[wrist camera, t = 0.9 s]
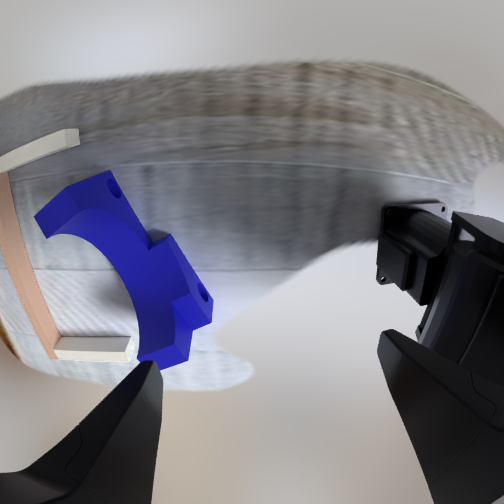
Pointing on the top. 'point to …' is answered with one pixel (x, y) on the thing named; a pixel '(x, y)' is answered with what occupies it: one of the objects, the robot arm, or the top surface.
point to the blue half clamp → (135, 265)
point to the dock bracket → (10, 239)
